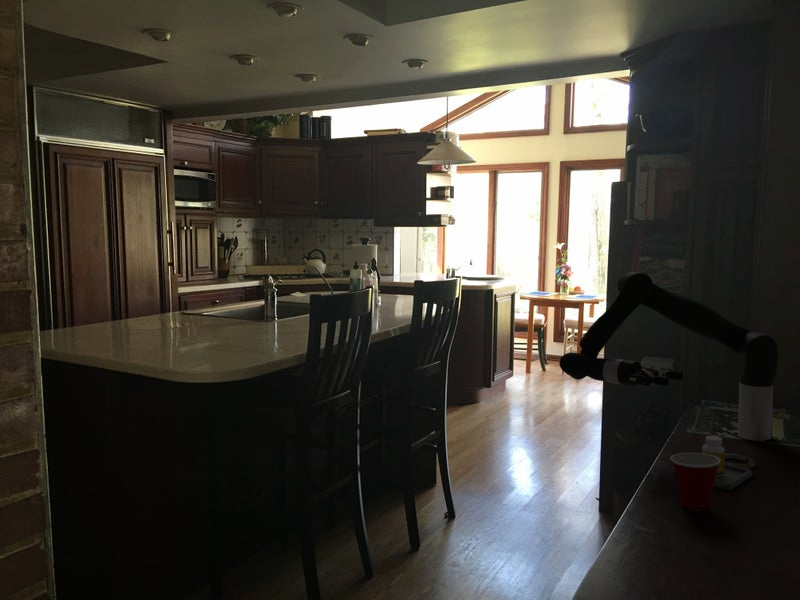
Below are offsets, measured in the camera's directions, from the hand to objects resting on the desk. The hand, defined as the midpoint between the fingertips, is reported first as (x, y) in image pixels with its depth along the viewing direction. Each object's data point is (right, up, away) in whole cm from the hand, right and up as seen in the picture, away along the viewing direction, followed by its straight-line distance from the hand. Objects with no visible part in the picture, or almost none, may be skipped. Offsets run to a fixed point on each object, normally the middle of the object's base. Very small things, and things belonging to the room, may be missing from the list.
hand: (675, 379), depth 179 cm
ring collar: (+16, -24, -1) cm, 28 cm away
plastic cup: (-8, -27, -29) cm, 40 cm away
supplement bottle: (+5, -24, -10) cm, 27 cm away
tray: (+6, -25, -10) cm, 27 cm away
